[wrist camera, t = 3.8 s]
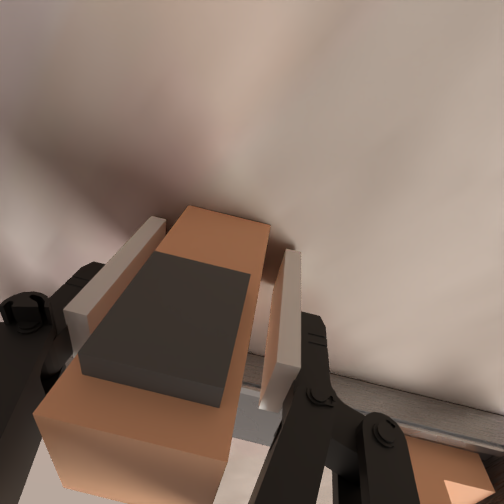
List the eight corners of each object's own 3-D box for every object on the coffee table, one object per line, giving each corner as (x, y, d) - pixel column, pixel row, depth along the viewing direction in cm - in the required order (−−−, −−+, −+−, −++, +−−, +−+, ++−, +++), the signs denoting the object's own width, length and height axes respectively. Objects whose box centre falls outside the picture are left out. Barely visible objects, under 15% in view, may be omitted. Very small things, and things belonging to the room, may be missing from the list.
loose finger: (179, 308, 18) (77, 521, 10) (189, 189, 14) (23, 391, 6) (244, 324, 18) (195, 550, 10) (274, 210, 14) (234, 444, 6)
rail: (87, 313, 20) (30, 383, 15) (507, 417, 19) (563, 515, 15) (97, 375, 24) (54, 444, 19) (447, 462, 23) (478, 549, 19)
